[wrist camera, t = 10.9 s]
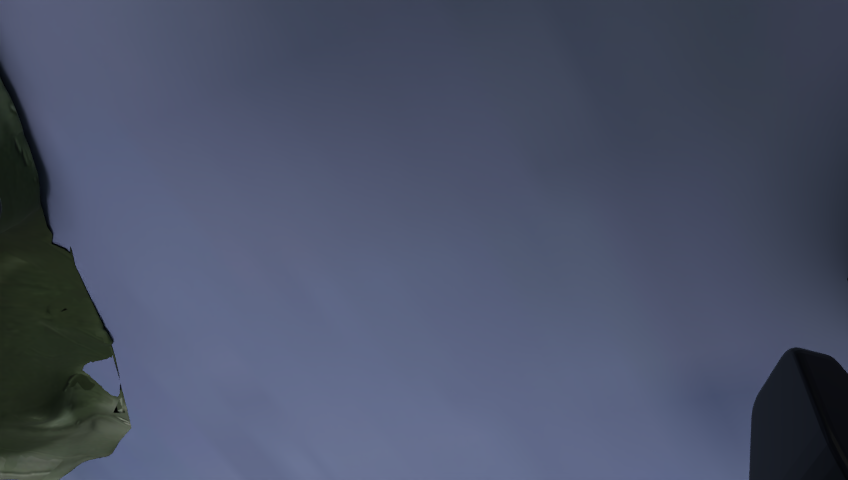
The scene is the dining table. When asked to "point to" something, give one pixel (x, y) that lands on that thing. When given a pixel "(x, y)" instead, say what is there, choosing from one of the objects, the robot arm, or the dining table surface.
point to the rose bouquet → (45, 335)
